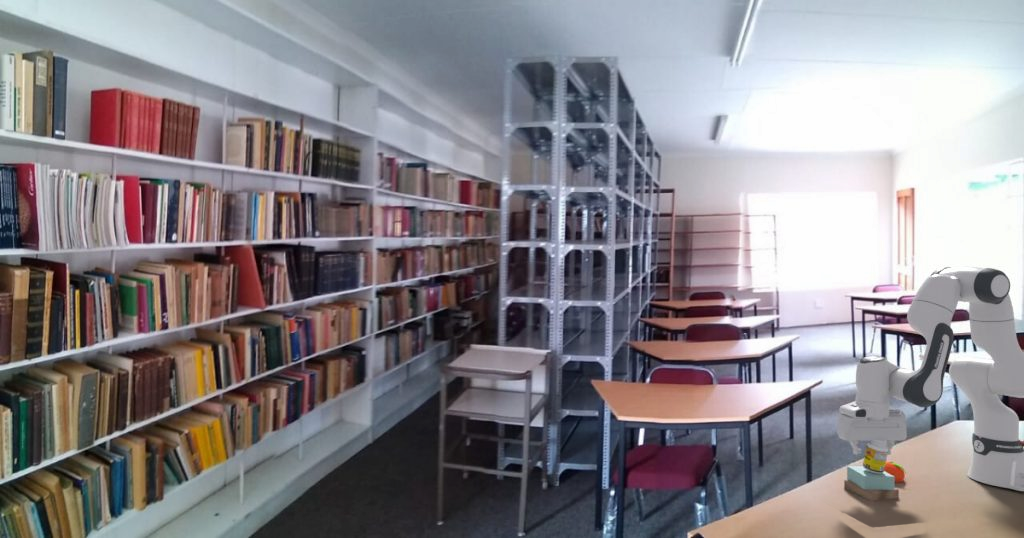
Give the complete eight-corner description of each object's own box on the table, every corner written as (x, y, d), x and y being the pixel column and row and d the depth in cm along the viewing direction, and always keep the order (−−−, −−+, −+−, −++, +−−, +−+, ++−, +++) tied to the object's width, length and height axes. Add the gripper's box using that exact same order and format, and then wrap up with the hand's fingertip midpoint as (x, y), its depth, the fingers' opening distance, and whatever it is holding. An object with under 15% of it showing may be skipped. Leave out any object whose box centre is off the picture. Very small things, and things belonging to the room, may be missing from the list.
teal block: (875, 479, 180) (875, 466, 180) (894, 490, 171) (894, 476, 171) (847, 478, 180) (847, 466, 180) (864, 489, 171) (864, 476, 171)
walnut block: (870, 490, 181) (870, 477, 181) (898, 502, 171) (898, 489, 172) (844, 492, 179) (844, 479, 179) (871, 505, 169) (871, 491, 169)
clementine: (912, 486, 183) (913, 464, 183) (899, 490, 180) (899, 467, 180) (887, 478, 191) (887, 457, 191) (874, 481, 188) (874, 460, 188)
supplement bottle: (860, 463, 179) (866, 433, 177) (880, 468, 177) (887, 437, 175) (864, 471, 173) (871, 440, 172) (885, 476, 172) (892, 444, 170)
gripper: (897, 407, 179) (896, 451, 179) (834, 407, 178) (833, 451, 178) (912, 411, 173) (911, 457, 173) (847, 411, 172) (846, 457, 172)
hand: (871, 454), depth 175 cm, fingers open, 8 cm apart
